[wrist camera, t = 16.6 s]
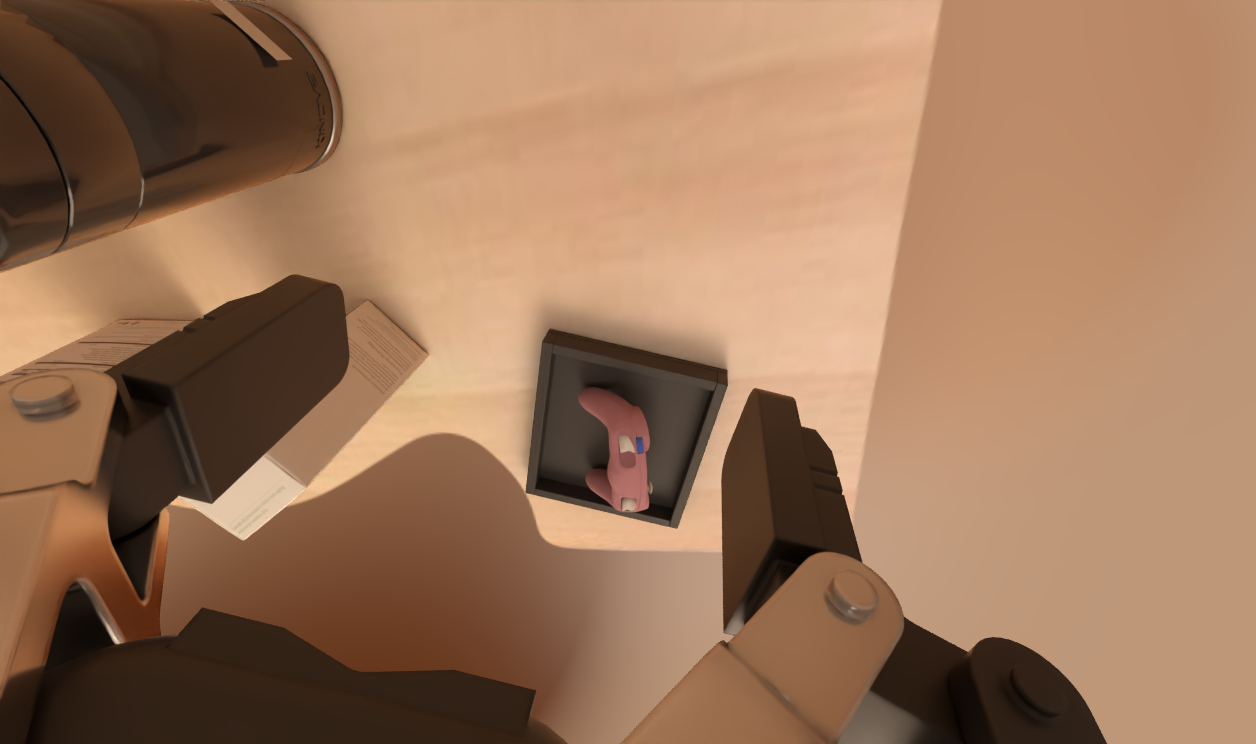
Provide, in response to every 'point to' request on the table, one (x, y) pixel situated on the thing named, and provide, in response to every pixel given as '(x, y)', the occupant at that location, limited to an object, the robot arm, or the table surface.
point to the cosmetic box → (321, 425)
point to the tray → (579, 441)
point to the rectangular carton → (103, 347)
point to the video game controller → (620, 451)
